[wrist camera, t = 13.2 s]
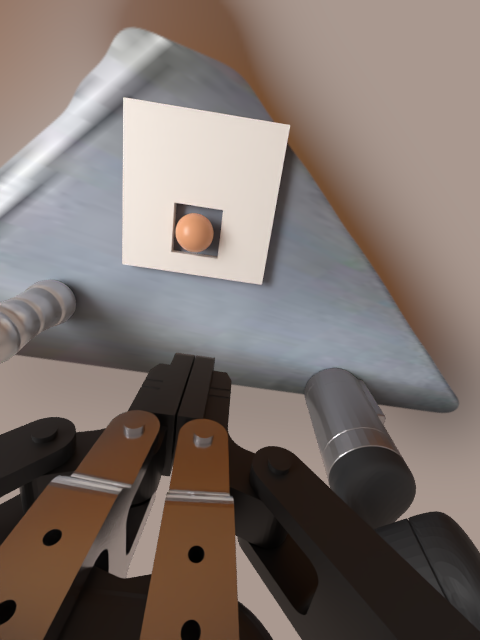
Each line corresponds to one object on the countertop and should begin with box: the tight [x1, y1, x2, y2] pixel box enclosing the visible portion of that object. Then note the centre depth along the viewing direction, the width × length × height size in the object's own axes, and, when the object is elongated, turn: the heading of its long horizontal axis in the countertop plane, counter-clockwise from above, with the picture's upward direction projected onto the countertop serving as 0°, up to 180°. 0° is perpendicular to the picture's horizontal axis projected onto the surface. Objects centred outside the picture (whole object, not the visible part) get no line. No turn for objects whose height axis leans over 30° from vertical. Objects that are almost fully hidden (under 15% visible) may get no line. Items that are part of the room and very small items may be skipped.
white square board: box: [122, 97, 290, 285], centre depth 42 cm, size 20×20×2 cm
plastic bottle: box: [0, 280, 76, 363], centre depth 39 cm, size 6×7×20 cm
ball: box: [176, 213, 214, 252], centre depth 42 cm, size 5×5×5 cm
